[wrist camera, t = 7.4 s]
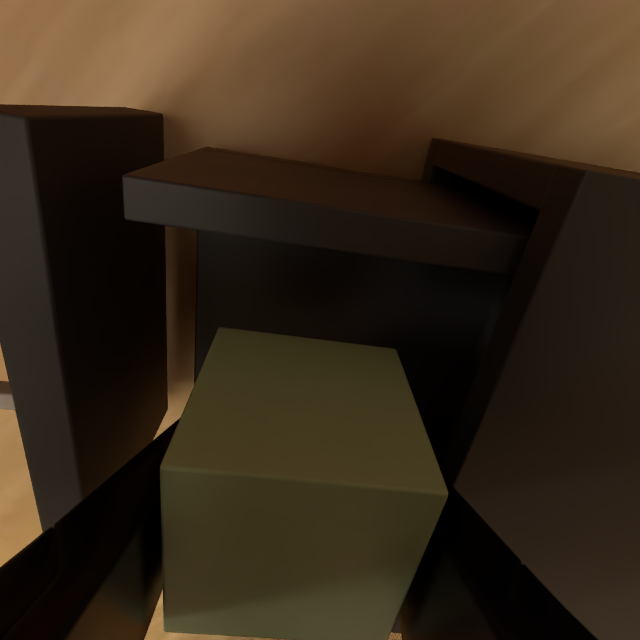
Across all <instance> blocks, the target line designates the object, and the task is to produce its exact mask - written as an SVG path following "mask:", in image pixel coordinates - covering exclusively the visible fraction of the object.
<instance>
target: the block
mask: <svg viewBox="0 0 640 640" xmlns="http://www.w3.org/2000/svg"><path fill="white" fill-rule="evenodd" d="M160 489H161V531H162V572H163V613H164V631H166V632H174V633H191V634H209V635H226V636H243V637H260V638H277V639H294V640H388V638H389V635H390V633H391V630H392V628H393V626H394V623H395V621H396V619H397V616H398V614H399V611H400V609H401V607H402V604H403V602H404V600H405V597H406V595H407V592H408V590H409V588H410V585H411V583H412V581H413V578H414V576H415V573H416V571H417V569H418V566H419V564H420V562H421V559H422V557H423V555H424V552H425V550H426V547H427V545H428V543H429V540H430V538H431V536H432V533H433V531H434V528H435V526H436V524H437V521H438V519H439V517H440V514H441V512H442V509H443V507H444V505H445V502H446V500H447V498H448V490H447V487H446V485H445V482H444V479H443V476H442V474H441V471H440V468H439V465H438V463H437V460H436V457H435V454H434V452H433V449H432V446H431V444H430V441H429V438H428V435H427V433H426V430H425V427H424V424H423V422H422V419H421V416H420V413H419V411H418V408H417V405H416V402H415V400H414V397H413V394H412V392H411V389H410V386H409V383H408V381H407V378H406V375H405V372H404V370H403V367H402V364H401V361H400V359H399V356H398V353H397V351H396V349H392V348H384V347H376V346H368V345H360V344H352V343H344V342H336V341H328V340H320V339H312V338H304V337H296V336H288V335H280V334H272V333H264V332H256V331H248V330H240V329H232V328H224V327H219V328H218V330H217V333H216V335H215V338H214V340H213V342H212V345H211V347H210V349H209V352H208V354H207V356H206V359H205V361H204V364H203V366H202V368H201V371H200V373H199V375H198V378H197V380H196V383H195V385H194V387H193V390H192V392H191V394H190V397H189V399H188V401H187V404H186V406H185V409H184V411H183V413H182V416H181V418H180V420H179V423H178V425H177V428H176V430H175V432H174V435H173V437H172V439H171V442H170V444H169V446H168V449H167V451H166V454H165V456H164V458H163V461H162V463H161V465H160Z"/></svg>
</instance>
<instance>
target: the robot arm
mask: <svg viewBox="0 0 640 640" xmlns="http://www.w3.org/2000/svg"><path fill="white" fill-rule="evenodd" d="M179 420H180V419H178V420H177V421H176V422H175V423H174V424H172V425H171V426H170V427H169V428H168V429H166V430H165V431H164V432H163V433H162V434H160V435H159V436H158V437H157V438H156V439H154V440H153V441H152V442H151V443H150V444H149V445H147V446H146V447H145V448H144V449H143V450H141V451H140V452H139V453H138V454H137V455H135V456H134V457H133V458H132V459H131V460H129V461H128V462H127V463H126V464H125V465H123V466H122V467H121V468H120V469H119V470H117V471H116V472H115V473H114V474H113V475H111V476H110V477H109V478H108V479H107V480H106V481H104V482H103V483H102V484H101V485H100V486H98V487H97V488H96V489H95V490H94V491H92V492H91V493H90V494H89V495H88V496H86V497H85V498H84V499H83V500H82V501H80V502H79V503H78V504H77V505H76V506H74V507H73V508H72V509H71V510H70V511H68V512H67V513H66V514H65V515H64V516H63V517H61V518H60V519H59V520H58V521H57V522H55V523H54V528H53V527H49V528H48V529H47V530H46V531H44V532H43V533H42V534H41V535H40V536H38V537H37V538H36V539H35V540H34V541H32V542H31V543H30V544H29V545H27V546H26V547H25V548H24V549H22V550H21V551H20V552H19V553H17V554H16V555H15V556H14V557H13V558H11V559H10V560H9V561H8V562H6V563H5V564H4V565H3V566H1V567H0V640H144V638H145V636H146V633H147V630H148V627H149V625H150V622H151V619H152V617H153V614H154V611H155V608H156V606H157V603H158V600H159V597H160V595H161V592H162V589H163V572H162V531H161V489H160V465H161V463H162V461H163V458H164V456H165V454H166V451H167V449H168V446H169V444H170V442H171V439H172V437H173V435H174V432H175V430H176V428H177V425H178V423H179ZM442 476H443V475H442ZM443 479H444V482H445V485H446V487H447V490H448V498H447V500H446V502H445V505H444V507H443V509H442V512H441V514H440V517H439V519H438V521H437V524H436V526H435V528H434V531H433V533H432V536H431V538H430V540H429V543H428V545H427V547H426V550H425V552H424V555H423V557H422V559H421V562H420V564H419V566H418V569H417V571H416V573H415V576H414V578H413V581H412V583H411V585H410V588H409V590H408V592H407V595H406V597H405V600H404V602H403V604H402V607H401V609H400V611H399V614H398V618H399V624H400V629H401V635H402V640H598V639H597V638H596V637H595V636H594V635H593V634H592V633H591V632H590V631H589V630H588V629H587V628H586V627H585V626H584V625H583V624H582V623H581V622H580V621H579V620H578V619H577V618H576V617H575V616H574V615H572V614H571V613H570V612H569V611H568V610H567V609H566V608H565V607H564V606H563V604H562V603H561V602H560V601H559V600H558V599H557V598H556V597H555V596H554V595H553V594H552V593H551V592H550V591H549V590H548V589H547V588H546V587H545V586H544V585H543V583H542V582H541V581H540V580H539V579H538V578H537V577H536V576H535V575H534V574H533V573H532V572H531V570H530V569H529V568H528V567H527V566H526V565H525V564H522V565H521V563H522V562H521V560H520V559H519V558H518V557H517V555H516V554H515V553H514V552H513V551H512V550H511V549H510V548H509V547H508V546H507V545H506V543H505V542H504V541H503V540H502V539H501V538H500V537H499V536H498V535H497V534H496V533H495V531H494V530H493V529H492V528H491V527H490V526H489V525H488V524H487V523H486V522H485V521H484V520H483V518H482V517H481V516H480V515H479V514H478V513H477V512H476V511H475V510H474V509H473V508H472V506H471V505H470V504H469V503H468V502H467V501H466V500H465V499H464V498H463V497H462V496H461V494H460V493H459V492H458V491H457V490H456V489H455V488H454V487H453V486H452V485H451V484H450V482H449V481H448V480H447V479H446V478H445V477H444V476H443Z"/></svg>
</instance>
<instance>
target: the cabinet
mask: <svg viewBox="0 0 640 640" xmlns="http://www.w3.org/2000/svg"><path fill="white" fill-rule="evenodd" d="M421 182H427V183H433V184H439V185H445V186H451V187H458V188H464V189H470V190H476V191H482V192H488V193H495V194H501V195H503V196H505V197H508V198H510V199H512V200H514V201H517V202H519V203H521V204H524V205H526V206H528V207H530V208H533V209H535V210H537V211H540V213H539V215H538V218H537V220H536V223H535V225H534V228H533V230H532V233H531V236H530V238H529V241H528V243H527V246H526V248H525V251H524V253H523V256H522V259H521V261H520V264H519V266H518V269H517V271H516V274H515V277H514V279H513V282H512V284H511V287H510V289H509V292H508V294H507V297H506V300H505V302H504V305H503V307H502V310H501V312H500V315H499V317H498V320H497V323H496V325H495V328H494V330H493V333H492V335H491V338H490V341H489V343H488V346H487V348H486V351H485V353H484V356H483V358H482V361H481V364H480V366H479V369H478V371H477V374H476V376H475V379H474V381H473V384H472V387H471V389H470V392H469V394H468V397H467V399H466V402H465V405H464V407H463V410H462V412H461V415H460V417H459V420H458V422H457V425H456V428H455V430H454V433H453V435H452V438H451V440H450V443H449V446H448V448H447V451H446V453H445V456H444V458H443V461H442V463H441V466H440V471H441V474H442V475H443V476H444V477H445V478H446V479H447V480H448V481H449V482H450V484H451V485H452V486H453V487H454V488H455V489H456V490H457V491H458V492H459V493H460V494H461V496H462V497H463V498H464V499H465V500H466V501H467V502H468V503H469V504H470V505H471V506H472V508H473V509H474V510H475V511H476V512H477V513H478V514H479V515H480V516H481V517H482V518H483V520H484V521H485V522H486V523H487V524H488V525H489V526H490V527H491V528H492V529H493V530H494V531H495V533H496V534H497V535H498V536H499V537H500V538H501V539H502V540H503V541H504V542H505V543H506V545H507V546H508V547H509V548H510V549H511V550H512V551H513V552H514V553H515V554H516V555H517V557H518V558H519V559H520V560H521V562H522V563H521V565H522V564H525V565H526V566H527V567H528V568H529V569H530V570H531V572H532V573H533V574H534V575H535V576H536V577H537V578H538V579H539V580H540V581H541V582H542V583H543V585H544V586H545V587H546V588H547V589H548V590H549V591H550V592H551V593H552V594H553V595H554V596H555V597H556V598H557V599H558V600H559V601H560V602H561V603H562V604H563V606H564V607H565V608H566V609H567V610H568V611H569V612H570V613H571V614H572V615H574V616H575V617H576V618H577V619H578V620H579V621H580V622H581V623H582V624H583V625H584V626H585V627H586V628H587V629H588V630H589V631H590V632H591V633H592V634H593V635H594V636H595V637H596V638H597V639H598V640H640V173H636V172H631V171H625V170H619V169H613V168H607V167H602V166H596V165H590V164H584V163H578V162H573V161H567V160H561V159H555V158H549V157H544V156H538V155H532V154H526V153H520V152H515V151H509V150H503V149H497V148H491V147H486V146H480V145H474V144H468V143H462V142H457V141H451V140H445V139H439V138H433V139H432V142H431V145H430V149H429V153H428V157H427V161H426V165H425V169H424V173H423V177H422V181H421ZM391 632H392V633H401V629H400V624H399V618H398V616H397V619H396V621H395V623H394V626H393V628H392V630H391Z"/></svg>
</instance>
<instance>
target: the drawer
mask: <svg viewBox="0 0 640 640" xmlns="http://www.w3.org/2000/svg"><path fill="white" fill-rule="evenodd" d="M539 213H540V211H537V210H535V209H533V208H530V207H528V206H526V205H524V204H521V203H519V202H517V201H514V200H512V199H510V198H508V197H505V196H503V195H501V194H495V193H488V192H482V191H476V190H470V189H464V188H458V187H451V186H445V185H439V184H433V183H427V182H421V181H414V180H408V179H402V178H396V177H390V176H384V175H377V174H371V173H365V172H359V171H353V170H347V169H340V168H334V167H328V166H322V165H316V164H309V163H303V162H297V161H291V160H285V159H279V158H272V157H266V156H260V155H254V154H248V153H242V152H235V151H229V150H223V149H217V148H211V147H205V148H202V149H198V150H195V151H192V152H189V153H186V154H183V155H180V156H177V157H174V158H171V159H168V160H165V161H164V122H163V114H161V113H156V112H150V111H144V110H138V109H132V108H126V107H88V106H44V105H1V104H0V343H1V348H2V352H3V357H4V361H5V366H6V370H7V375H8V379H9V382H6V381H0V409H9V410H16V415H17V419H18V424H19V428H20V433H21V437H22V442H23V446H24V450H25V455H26V459H27V464H28V468H29V473H30V477H31V482H32V486H33V491H34V495H35V500H36V504H37V508H38V513H39V517H40V522H41V526H42V531H43V532H44V531H46V530H47V529H48V528H49V527H53V528H54V523H55V522H57V521H58V520H59V519H60V518H61V517H63V516H64V515H65V514H66V513H67V512H68V511H70V510H71V509H72V508H73V507H74V506H76V505H77V504H78V503H79V502H80V501H82V500H83V499H84V498H85V497H86V496H88V495H89V494H90V493H91V492H92V491H94V490H95V489H96V488H97V487H98V486H100V485H101V484H102V483H103V482H104V481H106V480H107V479H108V478H109V477H110V476H111V475H113V474H114V473H115V472H116V471H117V470H119V469H120V468H121V467H122V466H123V465H125V464H126V463H127V462H128V461H129V460H131V459H132V458H133V457H134V456H135V455H137V454H138V453H139V452H140V451H141V450H143V449H144V448H145V447H146V446H147V445H149V444H150V443H151V442H152V441H153V439H154V437H155V435H156V433H157V430H158V428H159V426H160V424H161V422H162V420H163V418H164V416H165V414H166V412H167V410H168V396H167V327H166V259H165V226H171V227H178V228H185V229H192V230H197V273H196V320H195V368H194V385H195V383H196V380H197V378H198V375H199V373H200V371H201V368H202V366H203V364H204V361H205V359H206V356H207V354H208V352H209V349H210V347H211V345H212V342H213V340H214V338H215V335H216V333H217V330H218V328H219V327H224V328H232V329H240V330H248V331H256V332H264V333H272V334H280V335H288V336H296V337H304V338H312V339H320V340H328V341H336V342H344V343H352V344H360V345H368V346H376V347H384V348H392V349H396V351H397V353H398V356H399V359H400V361H401V364H402V367H403V370H404V372H405V375H406V378H407V381H408V383H409V386H410V389H411V392H412V394H413V397H414V400H415V402H416V405H417V408H418V411H419V413H420V416H421V419H422V422H423V424H424V427H425V430H426V433H427V435H428V438H429V441H430V444H431V446H432V449H433V452H434V454H435V457H436V460H437V463H438V465H439V468H440V466H441V463H442V461H443V458H444V456H445V453H446V451H447V448H448V446H449V443H450V440H451V438H452V435H453V433H454V430H455V428H456V425H457V422H458V420H459V417H460V415H461V412H462V410H463V407H464V405H465V402H466V399H467V397H468V394H469V392H470V389H471V387H472V384H473V381H474V379H475V376H476V374H477V371H478V369H479V366H480V364H481V361H482V358H483V356H484V353H485V351H486V348H487V346H488V343H489V341H490V338H491V335H492V333H493V330H494V328H495V325H496V323H497V320H498V317H499V315H500V312H501V310H502V307H503V305H504V302H505V300H506V297H507V294H508V292H509V289H510V287H511V284H512V282H513V279H514V277H515V274H516V271H517V269H518V266H519V264H520V261H521V259H522V256H523V253H524V251H525V248H526V246H527V243H528V241H529V238H530V236H531V233H532V230H533V228H534V225H535V223H536V220H537V218H538V215H539Z"/></svg>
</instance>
